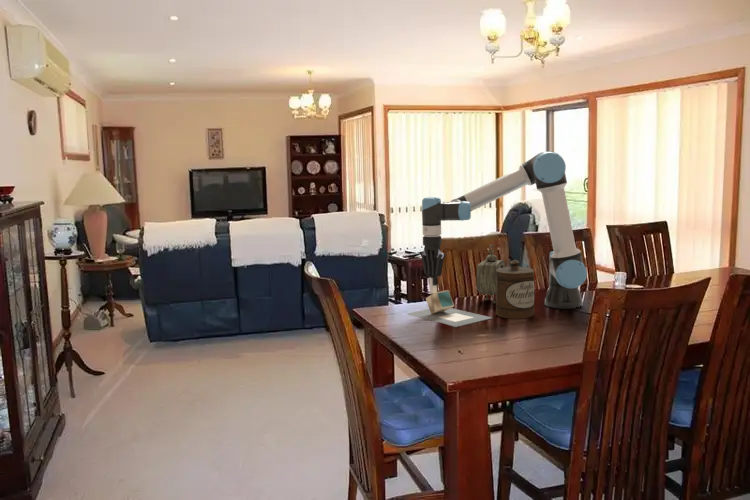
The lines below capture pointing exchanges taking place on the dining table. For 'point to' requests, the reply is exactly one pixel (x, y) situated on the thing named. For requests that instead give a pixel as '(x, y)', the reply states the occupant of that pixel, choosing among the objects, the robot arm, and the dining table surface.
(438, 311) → the birch cube
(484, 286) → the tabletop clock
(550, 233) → the robot arm
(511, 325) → the dining table surface
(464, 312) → the mat
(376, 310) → the dining table surface
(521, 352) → the dining table surface
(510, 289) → the wooden container
